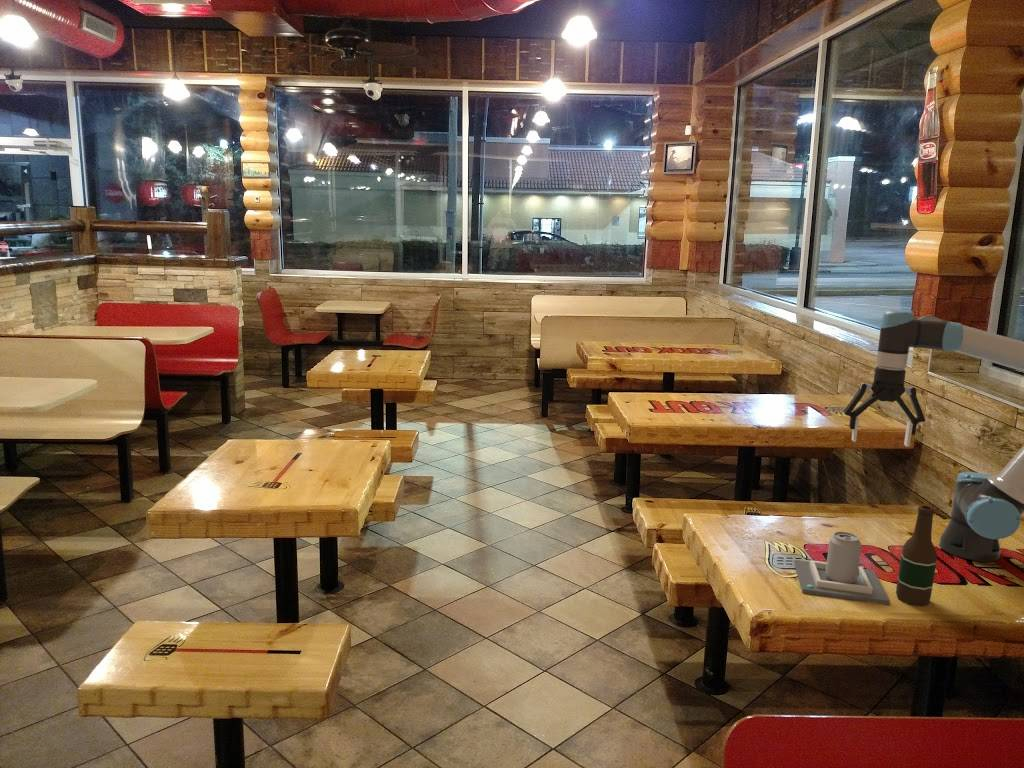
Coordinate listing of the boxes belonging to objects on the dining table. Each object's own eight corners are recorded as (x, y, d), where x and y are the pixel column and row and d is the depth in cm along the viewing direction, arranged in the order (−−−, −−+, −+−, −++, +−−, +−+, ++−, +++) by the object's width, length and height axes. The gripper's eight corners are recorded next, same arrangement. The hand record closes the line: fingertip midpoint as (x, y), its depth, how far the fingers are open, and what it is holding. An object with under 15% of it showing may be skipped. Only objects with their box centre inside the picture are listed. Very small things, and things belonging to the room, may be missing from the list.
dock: (873, 573, 206) (874, 564, 205) (889, 604, 188) (890, 595, 188) (793, 563, 210) (794, 554, 209) (802, 592, 193) (803, 583, 192)
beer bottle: (888, 592, 195) (902, 501, 190) (917, 592, 196) (932, 501, 191) (906, 606, 188) (921, 513, 183) (936, 606, 188) (952, 513, 184)
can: (850, 574, 202) (856, 530, 200) (860, 587, 195) (867, 542, 193) (821, 571, 203) (826, 528, 201) (829, 584, 196) (835, 539, 193)
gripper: (936, 369, 211) (925, 444, 215) (839, 361, 216) (829, 435, 221) (945, 373, 204) (933, 451, 208) (844, 366, 209) (834, 441, 213)
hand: (879, 443), depth 214 cm, fingers open, 13 cm apart
